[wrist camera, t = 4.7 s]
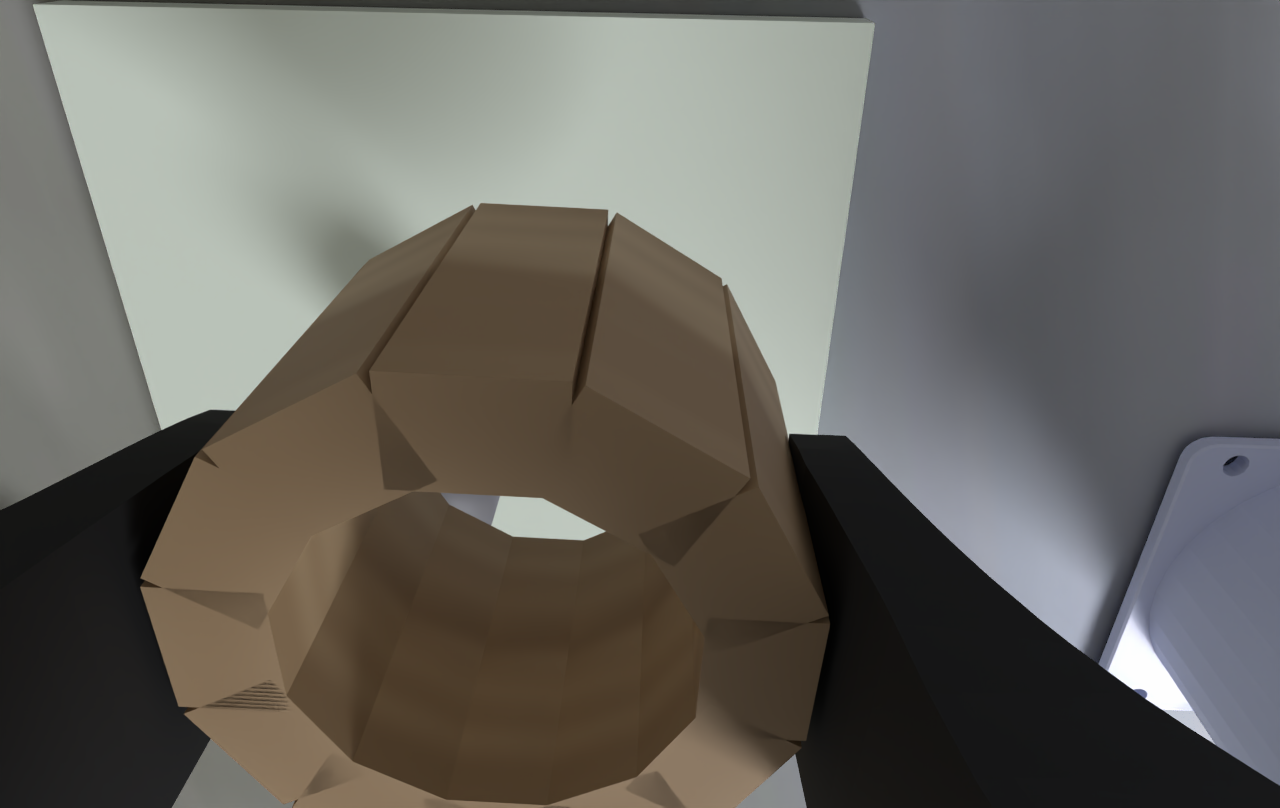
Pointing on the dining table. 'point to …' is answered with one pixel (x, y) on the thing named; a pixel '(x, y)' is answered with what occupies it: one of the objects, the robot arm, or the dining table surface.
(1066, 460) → the dining table surface
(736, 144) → the white board with peg
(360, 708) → the bead
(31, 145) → the dining table surface
